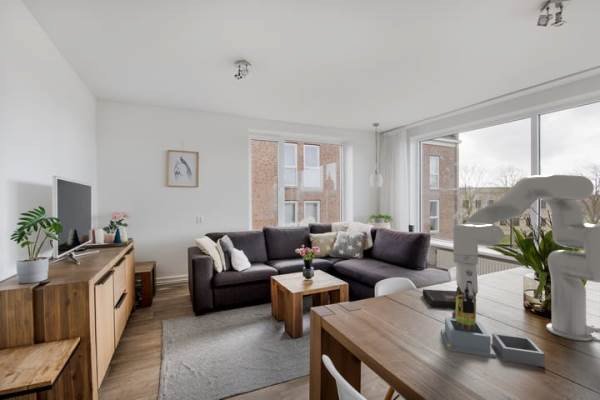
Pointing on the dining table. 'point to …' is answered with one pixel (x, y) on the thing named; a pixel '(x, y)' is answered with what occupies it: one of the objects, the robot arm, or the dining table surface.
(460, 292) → the sauce bottle
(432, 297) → the portable cd player
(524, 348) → the grey square frame
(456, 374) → the dining table surface
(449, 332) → the socket dock
